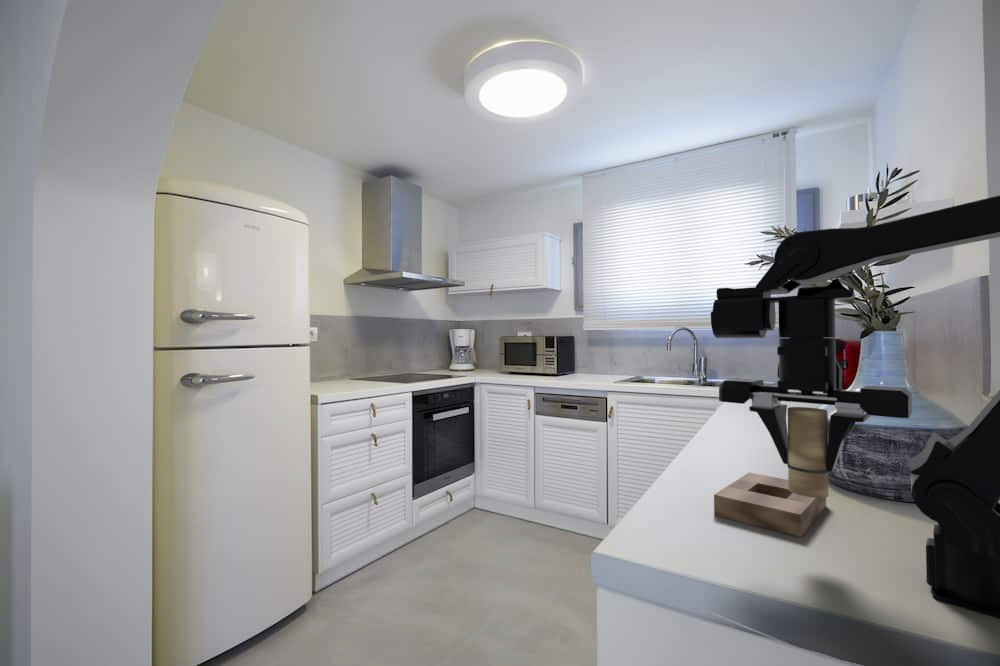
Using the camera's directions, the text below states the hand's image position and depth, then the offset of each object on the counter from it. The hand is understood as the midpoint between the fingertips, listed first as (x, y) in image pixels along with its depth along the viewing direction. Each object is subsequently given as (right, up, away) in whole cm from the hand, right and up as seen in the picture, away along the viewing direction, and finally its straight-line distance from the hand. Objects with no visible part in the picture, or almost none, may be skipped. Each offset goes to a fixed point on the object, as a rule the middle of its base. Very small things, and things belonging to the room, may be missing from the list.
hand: (807, 466), depth 55 cm
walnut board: (+4, -11, +14) cm, 18 cm away
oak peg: (0, -3, 0) cm, 3 cm away
